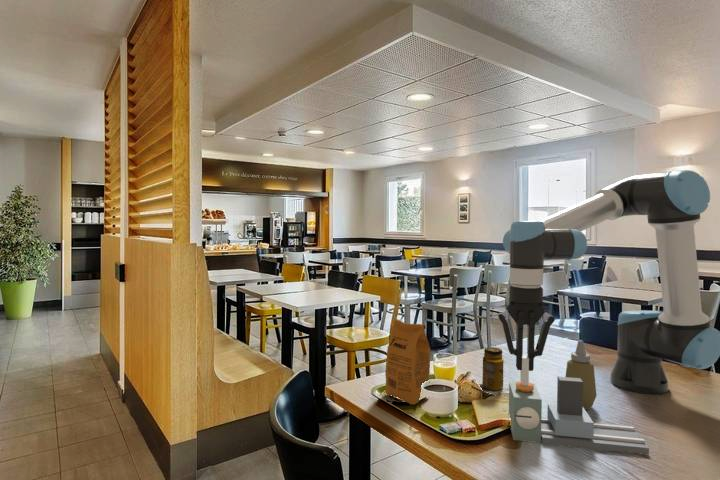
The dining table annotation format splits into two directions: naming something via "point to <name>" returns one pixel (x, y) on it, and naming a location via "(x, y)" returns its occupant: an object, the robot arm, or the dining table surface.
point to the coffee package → (407, 361)
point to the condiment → (493, 371)
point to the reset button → (524, 387)
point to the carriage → (570, 410)
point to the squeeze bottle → (583, 373)
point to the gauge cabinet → (525, 414)
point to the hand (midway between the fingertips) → (524, 383)
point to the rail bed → (598, 438)
